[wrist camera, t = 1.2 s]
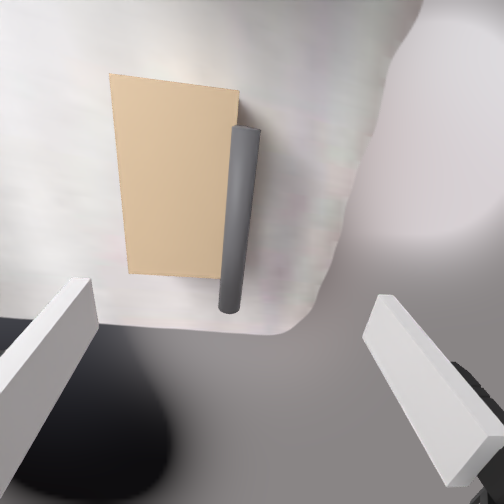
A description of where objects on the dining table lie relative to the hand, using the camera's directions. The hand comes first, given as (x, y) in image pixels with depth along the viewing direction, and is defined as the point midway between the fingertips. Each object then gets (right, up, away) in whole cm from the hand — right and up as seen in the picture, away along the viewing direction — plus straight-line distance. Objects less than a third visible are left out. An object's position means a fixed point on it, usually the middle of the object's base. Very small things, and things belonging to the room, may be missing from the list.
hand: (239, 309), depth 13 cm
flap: (-6, +9, +14) cm, 18 cm away
